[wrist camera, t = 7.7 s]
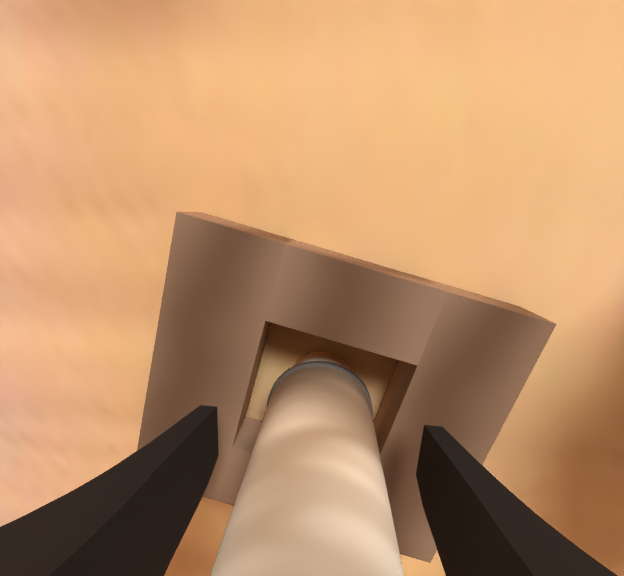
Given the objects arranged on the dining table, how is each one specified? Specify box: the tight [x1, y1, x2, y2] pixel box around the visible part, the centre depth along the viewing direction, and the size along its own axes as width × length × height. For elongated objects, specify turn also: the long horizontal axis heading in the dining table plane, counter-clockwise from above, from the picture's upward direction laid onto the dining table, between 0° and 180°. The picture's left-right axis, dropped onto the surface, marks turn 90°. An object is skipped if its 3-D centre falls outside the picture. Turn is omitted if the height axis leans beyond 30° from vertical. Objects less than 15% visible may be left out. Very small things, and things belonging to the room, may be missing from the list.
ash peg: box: [210, 352, 404, 576], centre depth 9 cm, size 4×4×9 cm
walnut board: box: [137, 212, 556, 563], centre depth 13 cm, size 14×12×2 cm
